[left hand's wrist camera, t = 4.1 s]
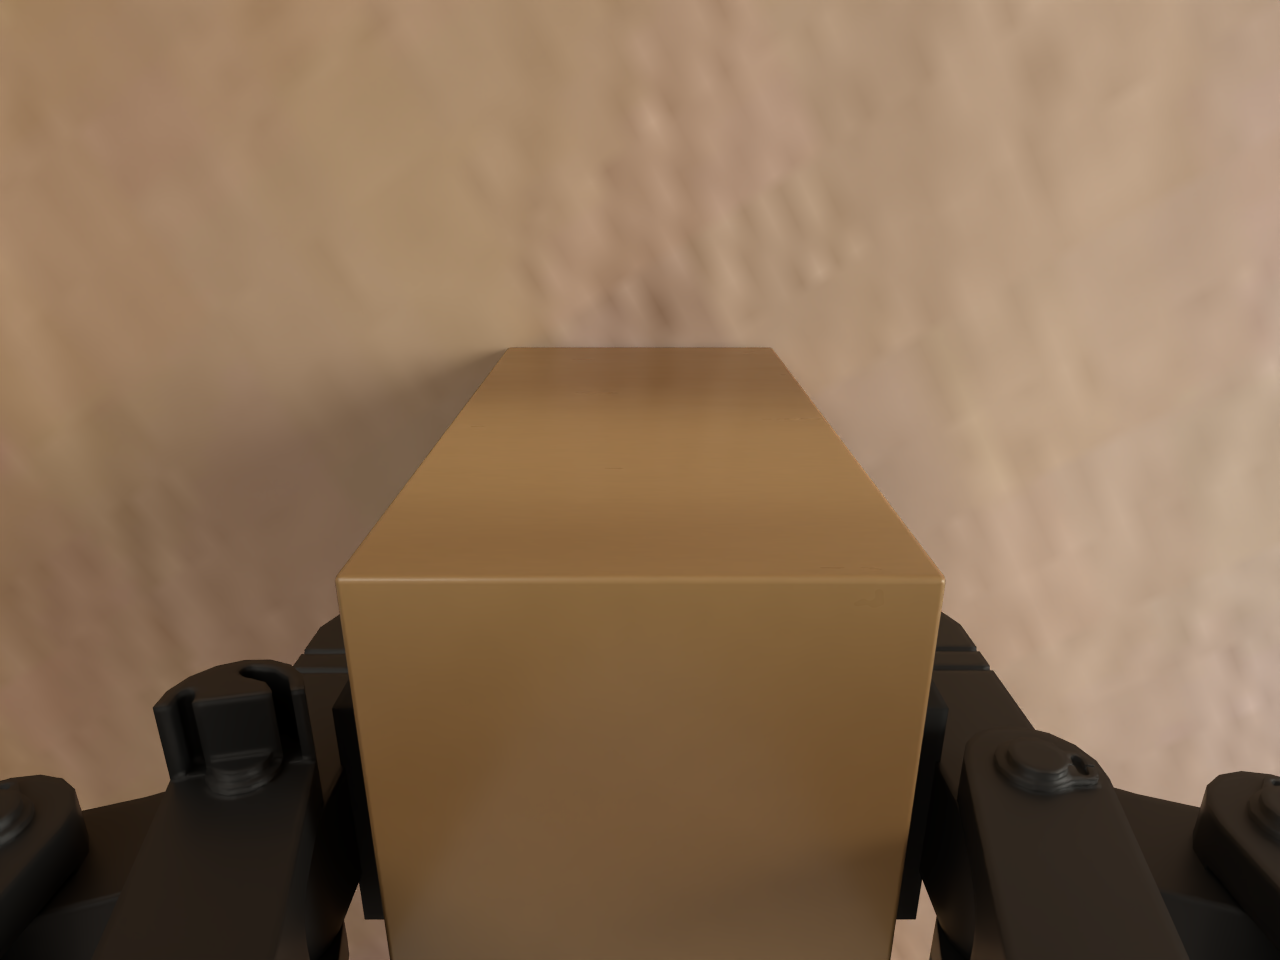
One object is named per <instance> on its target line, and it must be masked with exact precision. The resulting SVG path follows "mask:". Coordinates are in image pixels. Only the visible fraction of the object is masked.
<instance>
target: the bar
mask: <svg viewBox="0 0 1280 960" xmlns="http://www.w3.org/2000/svg"><path fill="white" fill-rule="evenodd" d="M335 584H336V591H337V598H338V605H339V612H340V619H341V626H342V632H343V639H344V646H345V653H346V660H347V667H348V674H349V680H350V687H351V694H352V701H353V708H354V715H355V722H356V728H357V735H358V742H359V749H360V756H361V763H362V770H363V777H364V783H365V790H366V797H367V804H368V811H369V818H370V825H371V831H372V838H373V845H374V852H375V859H376V866H377V873H378V879H379V886H380V893H381V900H382V907H383V914H384V921H385V928H386V934H387V941H388V948H389V955H390V960H890V958H891V951H892V944H893V937H894V930H895V923H896V917H897V910H898V903H899V896H900V889H901V882H902V876H903V869H904V862H905V855H906V848H907V841H908V835H909V828H910V821H911V814H912V807H913V800H914V793H915V787H916V780H917V773H918V766H919V759H920V752H921V746H922V739H923V732H924V725H925V718H926V711H927V704H928V698H929V691H930V684H931V677H932V670H933V663H934V657H935V650H936V643H937V636H938V629H939V622H940V615H941V609H942V602H943V595H944V588H945V578H944V576H943V574H942V573H941V572H940V570H939V569H938V568H937V566H936V565H935V564H934V562H933V561H932V560H931V558H930V557H929V556H928V554H927V553H926V552H925V550H924V549H923V548H922V546H921V545H920V544H919V543H918V541H917V540H916V539H915V537H914V536H913V535H912V533H911V532H910V531H909V529H908V528H907V527H906V525H905V524H904V523H903V521H902V520H901V519H900V517H899V516H898V515H897V513H896V512H895V511H894V509H893V508H892V507H891V505H890V504H889V503H888V501H887V500H886V499H885V497H884V496H883V495H882V493H881V492H880V491H879V490H878V488H877V487H876V486H875V484H874V483H873V482H872V480H871V479H870V478H869V476H868V475H867V474H866V472H865V471H864V470H863V468H862V467H861V466H860V464H859V463H858V462H857V460H856V459H855V458H854V456H853V455H852V454H851V452H850V451H849V450H848V448H847V447H846V446H845V444H844V443H843V442H842V440H841V439H840V438H839V437H838V435H837V434H836V433H835V431H834V430H833V429H832V427H831V426H830V425H829V423H828V422H827V421H826V419H825V418H824V417H823V415H822V414H821V413H820V411H819V410H818V409H817V407H816V406H815V405H814V403H813V402H812V401H811V399H810V398H809V397H808V395H807V394H806V393H805V391H804V390H803V389H802V387H801V386H800V385H799V384H798V382H797V381H796V380H795V378H794V377H793V376H792V374H791V373H790V372H789V370H788V369H787V368H786V366H785V365H784V364H783V362H782V361H781V360H780V358H779V357H778V356H777V354H776V353H775V352H774V350H773V349H772V348H508V349H507V351H506V352H505V353H504V355H503V356H502V357H501V359H500V360H499V361H498V363H497V364H496V365H495V367H494V368H493V369H492V371H491V372H490V373H489V375H488V376H487V377H486V379H485V380H484V381H483V383H482V384H481V385H480V387H479V388H478V389H477V390H476V392H475V393H474V394H473V396H472V397H471V398H470V400H469V401H468V402H467V404H466V405H465V406H464V408H463V409H462V410H461V412H460V413H459V414H458V416H457V417H456V418H455V420H454V421H453V422H452V424H451V425H450V426H449V428H448V429H447V430H446V432H445V433H444V434H443V436H442V437H441V438H440V440H439V441H438V442H437V444H436V445H435V446H434V448H433V449H432V450H431V452H430V453H429V454H428V456H427V457H426V458H425V460H424V461H423V462H422V463H421V465H420V466H419V467H418V469H417V470H416V471H415V473H414V474H413V475H412V477H411V478H410V479H409V481H408V482H407V483H406V485H405V486H404V487H403V489H402V490H401V491H400V493H399V494H398V495H397V497H396V498H395V499H394V501H393V502H392V503H391V505H390V506H389V507H388V509H387V510H386V511H385V513H384V514H383V515H382V517H381V518H380V519H379V521H378V522H377V523H376V525H375V526H374V527H373V529H372V530H371V531H370V533H369V534H368V535H367V536H366V538H365V539H364V540H363V542H362V543H361V544H360V546H359V547H358V548H357V550H356V551H355V552H354V554H353V555H352V556H351V558H350V559H349V560H348V562H347V563H346V564H345V566H344V567H343V568H342V570H341V571H340V572H339V574H338V575H337V576H336V580H335Z"/></svg>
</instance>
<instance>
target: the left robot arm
mask: <svg viewBox="0 0 1280 960" xmlns="http://www.w3.org/2000/svg"><path fill="white" fill-rule="evenodd" d="M153 711H154V715H155V719H156V723H157V727H158V731H159V735H160V739H161V743H162V747H163V751H164V755H165V759H166V763H167V767H168V771H169V775H170V779H171V780H170V782H169V785H168V787H167V789H166V791H165V792H162V793H159V794H155V795H152V796H148V797H144V798H140V799H135V800H131V801H126V802H121V803H117V804H112V805H107V806H103V807H98V808H93V809H89V810H84V811H81V808H80V805H79V801H78V798H77V795H76V791H75V789H74V788H73V787H72V786H71V785H69V784H68V783H67V782H66V781H65V780H64V779H62V778H56V777H51V776H45V775H34V776H25V777H16V778H9V779H6V780H2V781H0V960H349V950H348V942H347V935H346V929H345V923H344V918H345V916H346V913H347V911H348V908H349V906H350V903H351V901H352V898H353V896H354V893H355V890H356V888H357V885H358V883H359V885H360V891H361V898H362V904H363V911H364V917H365V919H384V914H383V907H382V900H381V893H380V886H379V879H378V873H377V866H376V859H375V852H374V845H373V838H372V831H371V825H370V818H369V811H368V804H367V797H366V790H365V783H364V777H363V770H362V763H361V756H360V749H359V742H358V735H357V728H356V722H355V715H354V708H353V701H352V694H351V687H350V680H349V674H348V667H347V660H346V653H345V646H344V639H343V632H342V626H341V619H340V614H339V615H338V616H336V617H335V618H334V619H332V620H331V621H329V622H328V623H326V624H325V625H323V626H322V627H320V629H319V630H318V632H317V633H316V634H315V636H314V637H313V639H312V640H311V642H310V643H309V644H308V646H307V647H306V649H305V653H304V654H301V656H300V657H299V659H298V660H297V661H296V663H295V664H294V666H292V665H290V664H286V663H282V662H278V661H274V660H243V661H238V662H233V663H229V664H224V665H219V666H215V667H213V668H210V669H208V670H205V671H203V672H200V673H198V674H195V675H193V676H190V677H188V678H187V679H185V680H184V681H182V682H181V683H179V684H177V685H176V686H174V687H173V688H171V689H170V690H168V691H167V692H166V693H165V694H164V695H163V696H162V698H161V699H160V700H159V701H158V702H157V703H156V704H155V706H154V707H153ZM922 880H923V882H924V885H925V887H926V890H927V892H928V895H929V897H930V900H931V902H932V905H933V907H934V910H935V913H936V915H937V917H936V923H935V929H934V935H933V941H932V947H931V953H930V958H929V960H1280V777H1278V776H1275V775H1271V774H1262V773H1254V772H1245V771H1239V772H1234V773H1228V774H1222V775H1219V776H1217V777H1216V778H1215V779H1214V780H1213V781H1212V782H1210V783H1209V784H1208V785H1207V787H1206V790H1205V794H1204V797H1203V800H1202V804H1201V807H1200V808H1199V807H1195V806H1190V805H1185V804H1181V803H1176V802H1171V801H1167V800H1162V799H1157V798H1153V797H1148V796H1143V795H1139V794H1135V793H1131V792H1128V791H1124V790H1121V789H1117V788H1113V785H1112V783H1111V781H1110V779H1109V777H1108V776H1107V775H1106V773H1105V772H1104V771H1103V769H1102V768H1101V767H1100V765H1099V764H1098V762H1097V761H1096V760H1094V759H1093V758H1092V757H1090V756H1089V755H1088V754H1086V753H1085V752H1084V751H1082V750H1081V749H1080V748H1078V747H1077V746H1076V745H1074V744H1072V743H1069V742H1067V741H1065V740H1063V739H1061V738H1058V737H1056V736H1054V735H1052V734H1050V733H1046V732H1042V731H1038V730H1035V729H1034V728H1033V726H1032V725H1031V723H1030V722H1029V721H1028V719H1027V718H1026V716H1025V715H1024V714H1023V712H1022V711H1021V709H1020V708H1019V706H1018V705H1017V704H1016V702H1015V701H1014V699H1013V698H1012V697H1011V695H1010V694H1009V692H1008V691H1007V690H1006V688H1005V687H1004V685H1003V684H1002V682H1001V681H1000V680H999V678H998V677H997V675H996V674H995V673H994V671H990V666H989V664H988V663H987V661H986V660H985V659H984V657H983V656H982V654H981V653H980V651H977V650H976V646H975V644H974V643H973V642H972V640H971V639H970V637H969V636H968V635H967V633H966V632H965V630H964V629H963V627H962V626H961V625H960V624H959V623H957V622H956V621H954V620H953V619H951V618H950V617H948V616H947V615H945V614H944V613H942V612H941V615H940V622H939V629H938V636H937V643H936V650H935V657H934V663H933V670H932V677H931V684H930V691H929V698H928V704H927V711H926V718H925V725H924V732H923V739H922V746H921V752H920V759H919V766H918V773H917V780H916V787H915V793H914V800H913V807H912V814H911V821H910V828H909V835H908V841H907V848H906V855H905V862H904V869H903V876H902V882H901V889H900V896H899V903H898V910H897V917H896V919H916V914H917V908H918V901H919V895H920V888H921V882H922Z"/></svg>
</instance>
